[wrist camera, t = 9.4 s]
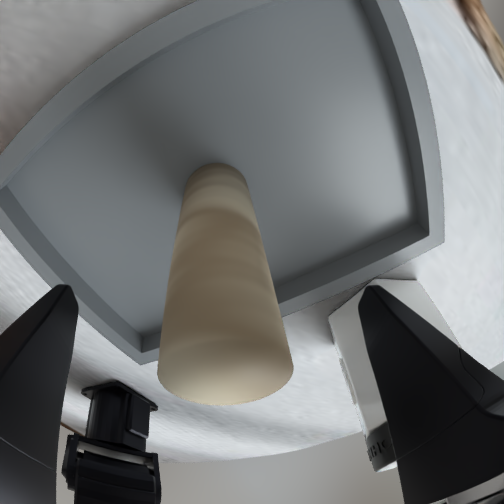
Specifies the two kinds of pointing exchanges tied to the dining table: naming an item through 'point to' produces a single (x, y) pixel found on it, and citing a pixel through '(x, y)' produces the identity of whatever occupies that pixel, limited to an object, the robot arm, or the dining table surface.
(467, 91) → the dining table surface
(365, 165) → the tray
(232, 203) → the pin
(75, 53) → the dining table surface
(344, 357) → the jar
